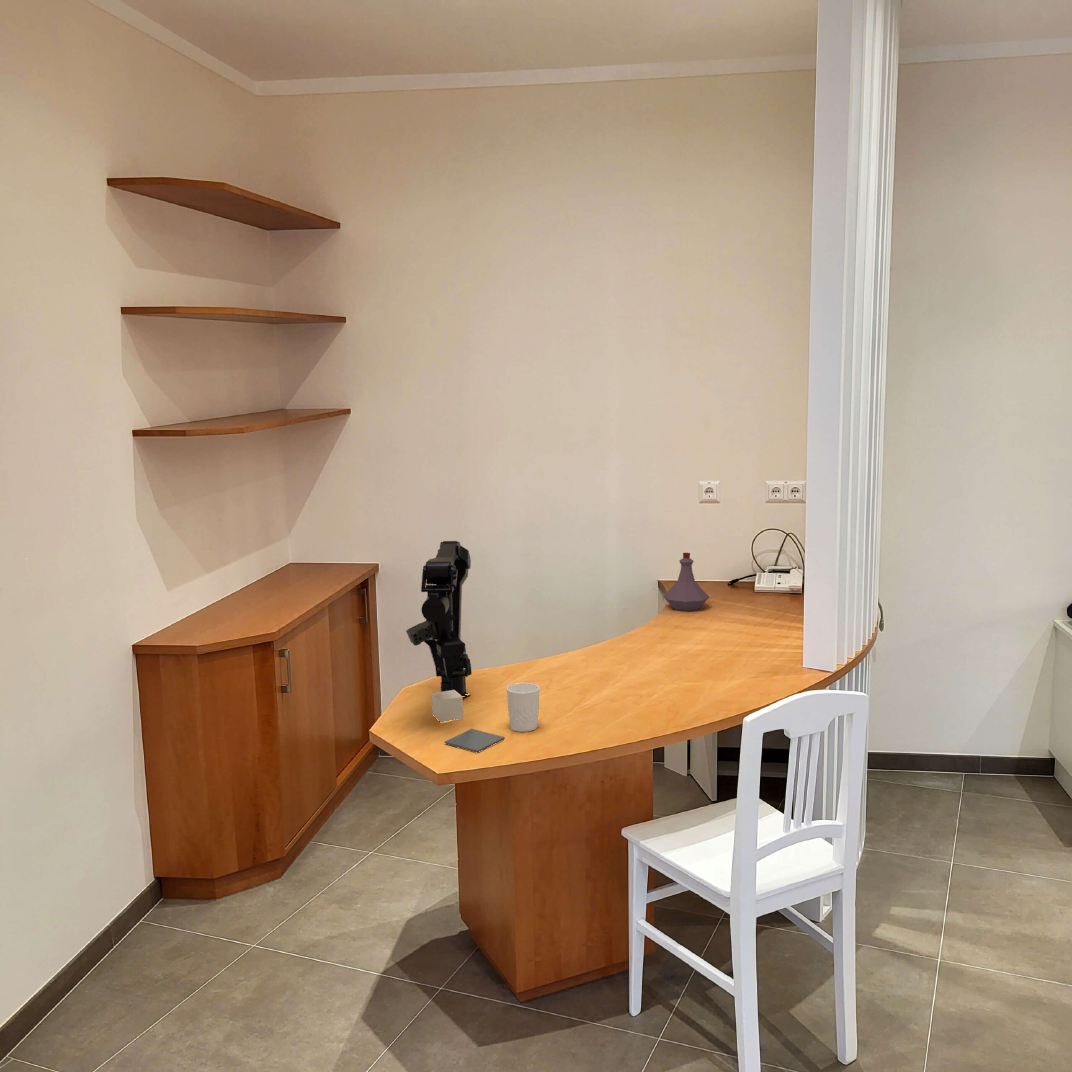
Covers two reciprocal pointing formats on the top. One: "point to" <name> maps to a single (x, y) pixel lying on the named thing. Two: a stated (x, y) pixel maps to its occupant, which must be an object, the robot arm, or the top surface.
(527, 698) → the white cup
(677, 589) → the flask
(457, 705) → the cube
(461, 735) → the coaster
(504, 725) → the top surface
